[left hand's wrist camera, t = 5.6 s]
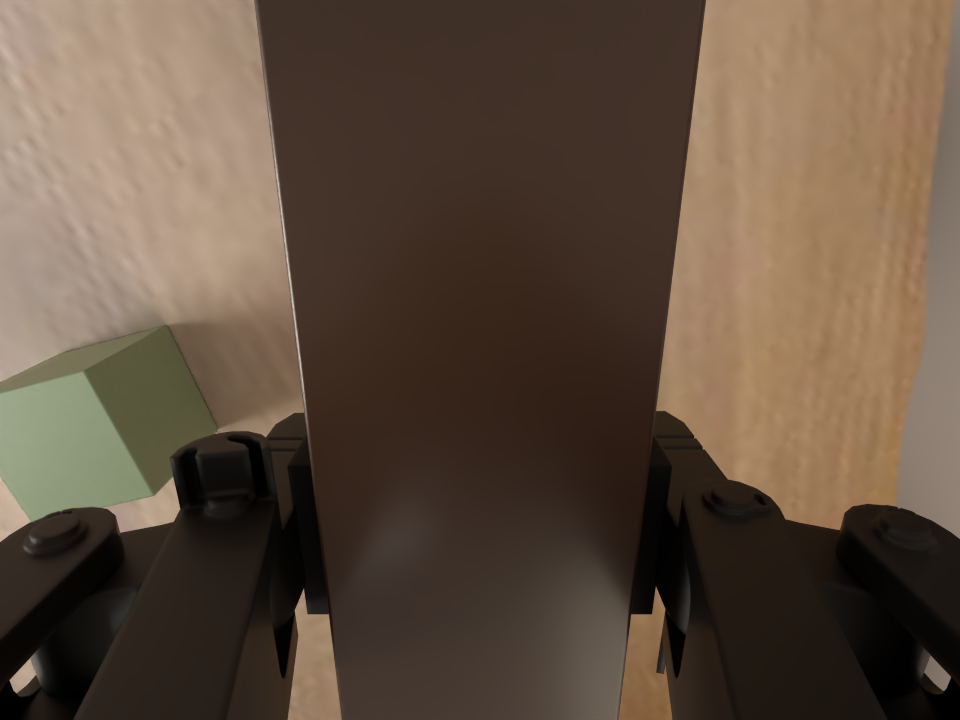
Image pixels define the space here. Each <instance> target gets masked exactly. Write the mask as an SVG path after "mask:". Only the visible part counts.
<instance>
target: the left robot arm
mask: <svg viewBox="0 0 960 720" xmlns="http://www.w3.org/2000/svg"><path fill="white" fill-rule="evenodd" d="M169 459H170V464H171V468H172V473H173V477H174V482H175V486H176V491H177V495H178V500H179V504H180V511H179V513H178V515H177V517H176V519H175V521H174V522H172V523H168V524H164V525H159V526H154V527H149V528H143V529H138V530H133V531H128V532H123V533H120V531H119V527H118V523H117V519H116V516H115V515H114V514H113V513H112V512H110V511H109V510H108V509H103V508H97V507H83V508H70V509H65V510H63V511H61V512H60V511H57V512H53V513H50V514H48V515H46V516H44V517H43V518H40V519H38V520H35V521H33V522H31V523H28V524H27V525H25V526H24V527H22V528H20V529H19V530H17V531H15V532H14V533H12V534H11V535H9V536H8V537H7V538H5V539H4V540H3V541H1V542H0V720H288V712H289V704H290V696H291V688H292V680H293V672H294V665H295V657H296V649H297V641H298V630H297V623H296V617H295V608H296V606H297V603H298V601H299V598H300V596H301V594H302V591H303V589H304V592H305V599H306V606H307V613H308V614H329V611H328V602H327V594H326V586H325V578H324V569H323V561H322V553H321V545H320V536H319V528H318V520H317V512H316V504H315V495H314V487H313V479H312V471H311V462H310V454H309V446H308V438H307V430H306V421H305V413H294V414H292V415H291V416H289V417H287V418H286V419H284V420H282V421H281V422H279V423H277V424H276V425H275V426H274V428H273V429H272V430H271V431H270V433H269V434H268V435H267V437H266V438H265V437H264V436H263V435H261V434H257V433H253V432H248V431H232V432H225V433H219V434H213V435H209V436H206V437H203V438H200V439H197V440H194V441H192V442H190V443H188V444H187V445H185V446H183V447H181V448H179V449H178V450H177V451H176V452H175V453H174V454H173V455H172V456H171V457H170V458H169ZM656 587H657V590H658V592H659V594H660V597H661V599H662V602H663V604H664V607H665V609H666V610H665V617H664V623H663V630H662V637H661V643H660V650H659V657H658V664H657V671H656V673H662V674H664V670H665V664H666V671H667V679H668V687H669V695H670V703H671V710H672V718H673V720H960V539H959V538H958V537H956V536H955V535H954V534H952V533H951V532H949V531H948V530H946V529H945V528H943V527H941V526H940V525H938V524H936V523H935V522H933V521H931V520H929V519H926V518H924V517H922V516H919V515H917V514H915V513H914V512H912V511H909V510H906V509H902V508H900V509H898V507H894V506H889V505H873V504H865V505H859V506H853V507H852V508H850V509H849V510H848V511H846V512H845V514H844V517H843V521H842V525H841V528H840V530H835V529H830V528H824V527H819V526H814V525H808V524H803V523H798V522H794V521H790V520H786V519H785V518H784V516H783V514H782V512H781V510H780V508H779V507H778V506H777V504H776V503H775V502H774V501H773V500H772V499H771V498H770V497H769V496H767V495H766V494H764V493H763V492H761V491H760V490H758V489H756V488H754V487H751V486H749V485H746V484H744V483H741V482H738V481H732V480H728V479H727V478H726V477H725V475H724V474H723V473H722V471H721V470H720V469H719V467H718V466H717V465H716V464H715V462H714V461H713V460H712V458H711V457H710V456H709V455H708V453H707V452H706V451H705V450H703V447H702V445H701V444H700V443H699V442H698V440H697V439H696V438H694V435H693V434H692V432H691V431H690V430H689V429H688V427H687V426H686V425H685V423H684V422H682V421H680V420H679V419H677V418H676V417H674V416H672V415H671V414H669V413H667V412H666V411H656V414H655V422H654V431H653V439H652V447H651V455H650V463H649V472H648V480H647V488H646V496H645V504H644V513H643V521H642V529H641V537H640V545H639V554H638V562H637V570H636V578H635V587H634V595H633V603H632V611H631V614H652V610H653V603H654V595H655V588H656ZM930 655H931V656H932V657H933V658H934V659H935V660H936V661H937V662H938V663H939V664H940V666H941V667H942V668H943V669H944V670H945V671H946V672H947V673H948V674H949V675H950V676H951V679H950V682H949V684H948V687H947V689H946V690H945V691H942V690H941V689H940V688H939V687H937V686H936V685H935V684H934V683H933V682H932V681H931V680H930V679H929V677H928V676H927V675H926V674H925V673H924V671H925V668H926V666H927V663H928V660H929V657H930ZM29 659H31V662H32V665H33V667H34V670H35V673H36V676H35V677H34V678H33V679H32V680H31V681H30V682H29V684H28V685H27V686H26V687H24V688H23V689H22V690H21V691H19V692H18V693H17V694H16V693H15V692H14V691H13V688H12V686H11V683H10V681H9V680H10V679H11V678H12V677H13V676H14V675H15V673H16V672H17V671H18V670H19V669H20V668H21V667H22V666H23V665H24V664H25V663H26V662H27V661H28V660H29Z"/></svg>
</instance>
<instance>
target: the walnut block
mask: <svg viewBox="0 0 960 720" xmlns="http://www.w3.org/2000/svg"><path fill="white" fill-rule="evenodd" d="M254 2H255V10H256V18H257V26H258V35H259V43H260V51H261V59H262V68H263V76H264V84H265V92H266V100H267V109H268V117H269V125H270V133H271V142H272V150H273V158H274V166H275V174H276V183H277V191H278V199H279V207H280V216H281V224H282V232H283V240H284V249H285V257H286V265H287V273H288V281H289V290H290V298H291V306H292V314H293V323H294V331H295V339H296V347H297V355H298V364H299V372H300V380H301V388H302V397H303V405H304V413H305V421H306V430H307V438H308V446H309V454H310V462H311V471H312V479H313V487H314V495H315V504H316V512H317V520H318V528H319V536H320V545H321V553H322V561H323V569H324V578H325V586H326V594H327V602H328V611H329V619H330V627H331V635H332V643H333V652H334V660H335V668H336V676H337V685H338V693H339V701H340V709H341V717H342V720H618V718H619V710H620V701H621V693H622V685H623V677H624V669H625V660H626V652H627V644H628V636H629V628H630V619H631V611H632V603H633V595H634V587H635V578H636V570H637V562H638V554H639V545H640V537H641V529H642V521H643V513H644V504H645V496H646V488H647V480H648V472H649V463H650V455H651V447H652V439H653V431H654V422H655V414H656V406H657V398H658V390H659V381H660V373H661V365H662V357H663V349H664V340H665V332H666V324H667V316H668V308H669V299H670V291H671V283H672V275H673V266H674V258H675V250H676V242H677V234H678V225H679V217H680V209H681V201H682V193H683V184H684V176H685V168H686V160H687V152H688V143H689V135H690V127H691V119H692V111H693V102H694V94H695V86H696V78H697V69H698V61H699V53H700V45H701V37H702V28H703V20H704V12H705V4H706V0H254Z"/></svg>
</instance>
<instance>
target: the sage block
mask: <svg viewBox="0 0 960 720" xmlns="http://www.w3.org/2000/svg"><path fill="white" fill-rule="evenodd" d="M217 430H218V428H217V426H216V424H215V422H214V420H213V418H212V416H211V414H210V412H209V410H208V407H207V405H206V403H205V401H204V399H203V397H202V395H201V393H200V391H199V389H198V387H197V385H196V383H195V381H194V379H193V377H192V375H191V373H190V371H189V369H188V367H187V365H186V363H185V361H184V359H183V357H182V355H181V353H180V351H179V348H178V346H177V344H176V342H175V340H174V338H173V336H172V334H171V332H170V330H169V328H168V326H166V325H165V326H161V327H157V328H154V329H150V330H146V331H143V332H139V333H135V334H131V335H128V336H124V337H120V338H117V339H113V340H109V341H105V342H102V343H98V344H94V345H90V346H87V347H83V348H79V349H76V350H72V351H68V352H64V353H61V354H58V355H56V356H54V357H52V358H50V359H48V360H46V361H44V362H42V363H39V364H37V365H35V366H33V367H31V368H29V369H27V370H25V371H23V372H21V373H19V374H17V375H14V376H12V377H10V378H8V379H6V380H4V381H2V382H0V477H1V479H2V480H3V482H4V483H5V485H6V486H7V487H8V489H9V490H10V492H11V493H12V495H13V496H14V498H15V499H16V501H17V502H18V504H19V505H20V507H21V508H22V510H23V511H24V513H25V514H26V516H27V517H28V519H29V520H30V522H33V521H35V520H38V519H40V518H43V517H44V516H46V515H48V514H50V513H53V512H57V511H60V512H61V511H63V510H65V509H70V508H83V507H97V508H103V507H108V506H112V505H116V504H121V503H125V502H129V501H133V500H138V499H142V498H146V497H151V496H154V495H156V494H157V493H158V491H159V490H160V489H161V488H162V487H163V486H164V485H165V484H166V483H167V482H168V481H169V480H170V479H171V478H172V477H173V473H172V468H171V464H170V459H169V458H170V457H171V456H172V455H173V454H174V453H175V452H176V451H177V450H178V449H179V448H181V447H183V446H185V445H187V444H188V443H190V442H192V441H194V440H197V439H200V438H203V437H206V436H209V435H213V434H214V433H215V432H216V431H217Z"/></svg>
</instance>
